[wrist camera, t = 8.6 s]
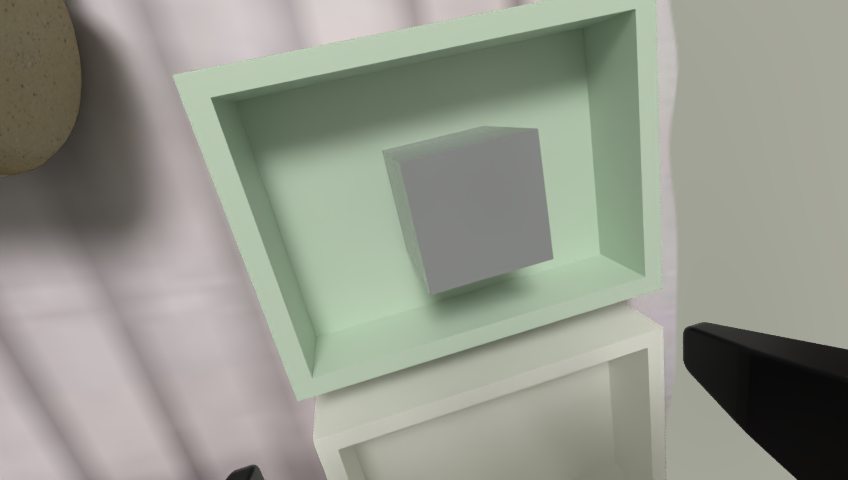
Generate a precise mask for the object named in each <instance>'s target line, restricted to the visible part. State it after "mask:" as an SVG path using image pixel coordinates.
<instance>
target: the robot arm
mask: <svg viewBox="0 0 848 480" xmlns="http://www.w3.org/2000/svg"><path fill="white" fill-rule="evenodd" d="M683 361H684V364H685V366H686V368H687V370H688V371H689V372H690V373H691V375H692V376H693V377H694V378H695V379H696V380H697V381H698V382H699V383H700V384H701V385H702V386H703V387H704V389H705V390H706V391H707V392H708V393H709V394H710V395H711V396H712V397H713V398H714V399H715V400H716V401H717V403H718V404H719V405H720V406H721V407H722V408H723V409H724V410H725V411H726V412H727V413H728V414H729V415H730V416H731V418H733V420H734V421H735V422H736V423H737V424H739V426H740V427H741V428H742V429H743V430H744V431H745V432H746V433H747V434H748V435H749V436H750V437H751V438H752V439H753V440H754V441H755V442H756V443H758V444H759V445H760V446H761V447H762V448H763V449H764V450H765V451H766V452H767V453H769V454H770V455H771V456H772V457H773V458H774V459H775V460H776V461H777V462H778V463H780V464H781V465H782V466H783V467H784V468H785V469H786V470H787V471H788V472H789V473H790V474H792V475H793V476H794V477H795V478H796V479H797V480H848V350H847V349H842V348H837V347H832V346H827V345H821V344H816V343H811V342H806V341H800V340H795V339H790V338H785V337H780V336H775V335H769V334H764V333H759V332H754V331H749V330H743V329H738V328H733V327H728V326H722V325H717V324H712V323H706V322H702V323H698V324H695V325H692V326H688V327H687V328H685V330H684V332H683ZM226 480H264V478H263V476H262V473H261V471H260V469H259V467H258V466H257V465H250V466H247V467H243V468H240V469H237V470H235V471H233V472H232V473H231V474H230V475H229V476H228V477H227V479H226Z"/></svg>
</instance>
